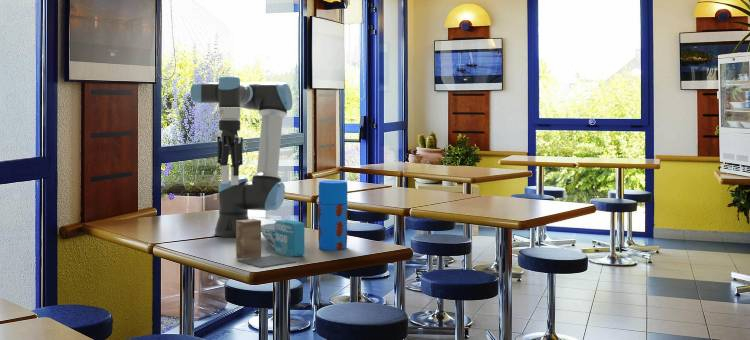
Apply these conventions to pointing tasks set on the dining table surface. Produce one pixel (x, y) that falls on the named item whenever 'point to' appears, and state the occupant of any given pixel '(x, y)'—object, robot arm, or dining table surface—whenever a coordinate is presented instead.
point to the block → (248, 238)
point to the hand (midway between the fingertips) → (229, 184)
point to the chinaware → (269, 233)
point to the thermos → (332, 215)
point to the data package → (289, 238)
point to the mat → (266, 261)
